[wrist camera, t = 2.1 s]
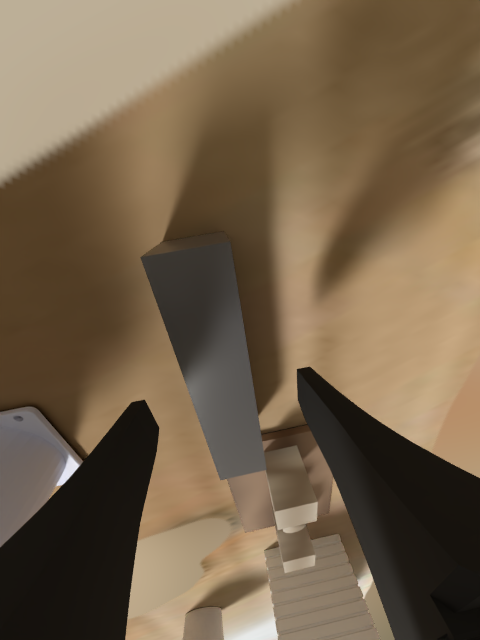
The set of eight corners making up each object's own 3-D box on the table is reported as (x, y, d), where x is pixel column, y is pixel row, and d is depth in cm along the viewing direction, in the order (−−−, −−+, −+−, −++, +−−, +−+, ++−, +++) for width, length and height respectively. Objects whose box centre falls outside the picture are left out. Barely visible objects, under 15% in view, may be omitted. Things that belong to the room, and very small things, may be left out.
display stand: (244, 526, 25) (251, 586, 21) (217, 444, 18) (219, 513, 14) (326, 506, 26) (348, 562, 22) (333, 419, 18) (369, 479, 14)
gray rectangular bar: (218, 424, 17) (220, 480, 14) (163, 241, 11) (140, 256, 7) (255, 416, 17) (266, 469, 14) (223, 230, 11) (230, 241, 7)
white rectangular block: (322, 595, 45) (352, 697, 36) (273, 607, 45) (290, 714, 35) (337, 531, 30) (395, 677, 21) (263, 548, 30) (288, 706, 20)
